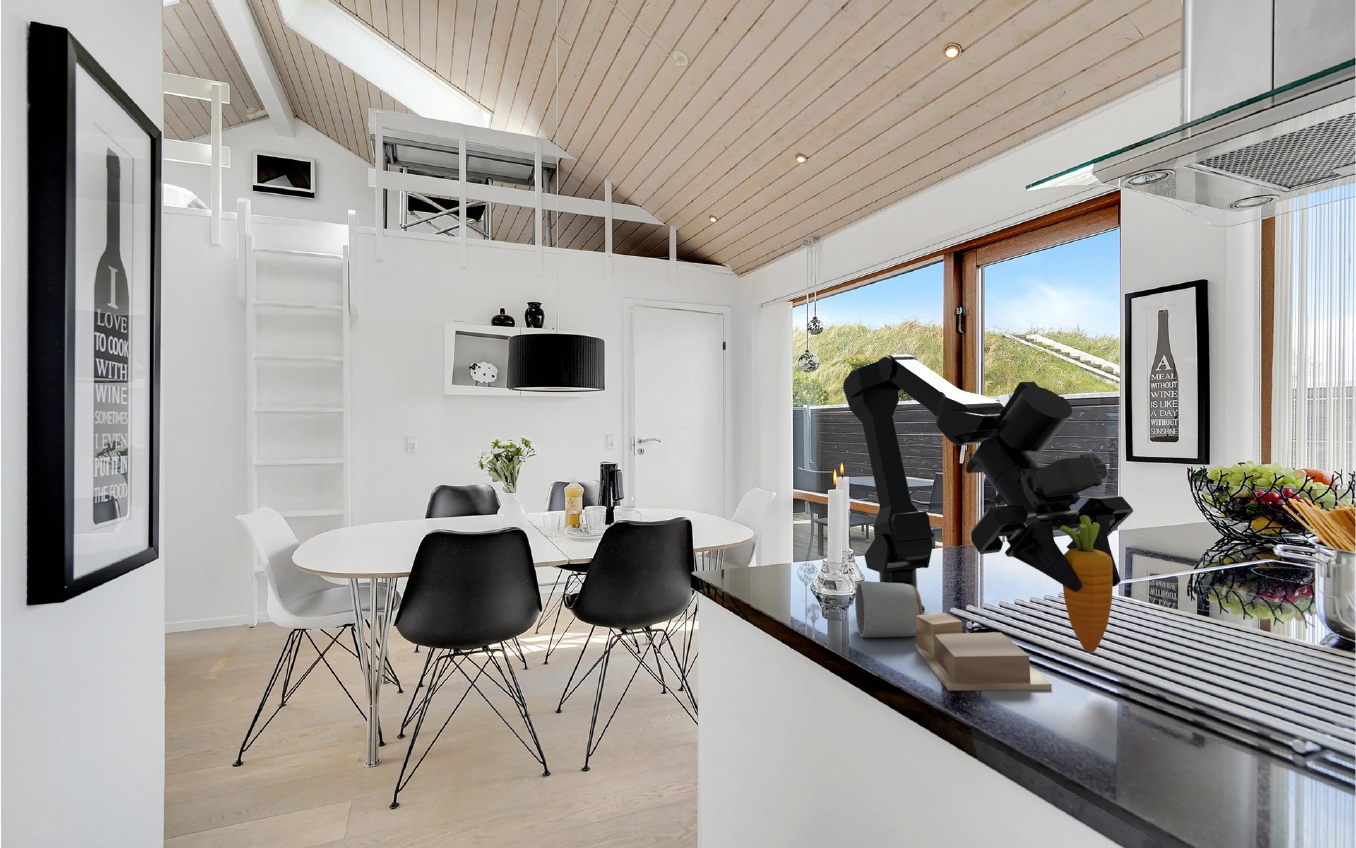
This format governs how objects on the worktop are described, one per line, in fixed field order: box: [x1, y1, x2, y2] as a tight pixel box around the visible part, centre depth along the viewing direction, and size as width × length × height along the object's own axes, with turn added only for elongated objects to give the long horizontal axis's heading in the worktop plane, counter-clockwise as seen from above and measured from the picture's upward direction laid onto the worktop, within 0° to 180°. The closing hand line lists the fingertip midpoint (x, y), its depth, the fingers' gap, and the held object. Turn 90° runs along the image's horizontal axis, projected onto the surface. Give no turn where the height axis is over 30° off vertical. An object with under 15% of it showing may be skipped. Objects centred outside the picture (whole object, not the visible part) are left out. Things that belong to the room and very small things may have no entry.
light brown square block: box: [934, 632, 1031, 683], centre depth 78 cm, size 8×8×3 cm
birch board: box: [914, 643, 1053, 692], centre depth 80 cm, size 14×11×1 cm
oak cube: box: [916, 612, 964, 656], centre depth 85 cm, size 4×4×4 cm
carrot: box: [1060, 515, 1114, 655], centre depth 73 cm, size 5×5×15 cm
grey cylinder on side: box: [854, 580, 924, 639], centre depth 95 cm, size 11×8×8 cm
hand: (1098, 587), depth 71 cm, fingers closed on carrot, 5 cm apart
